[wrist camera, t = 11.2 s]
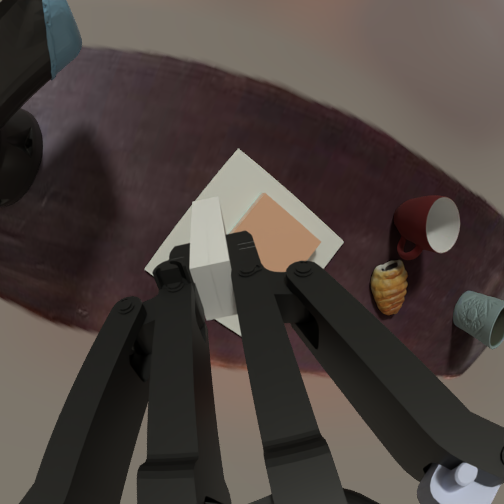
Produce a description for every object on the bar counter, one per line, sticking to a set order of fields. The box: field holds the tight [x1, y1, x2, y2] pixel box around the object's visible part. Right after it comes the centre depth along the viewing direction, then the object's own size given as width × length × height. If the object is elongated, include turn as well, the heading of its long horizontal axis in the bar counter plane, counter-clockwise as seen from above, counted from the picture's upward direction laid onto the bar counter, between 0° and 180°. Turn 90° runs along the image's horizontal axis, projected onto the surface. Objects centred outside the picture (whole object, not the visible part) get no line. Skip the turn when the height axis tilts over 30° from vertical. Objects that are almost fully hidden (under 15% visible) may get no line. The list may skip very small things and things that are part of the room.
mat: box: [145, 149, 344, 336], centre depth 40 cm, size 20×20×1 cm
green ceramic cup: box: [453, 291, 504, 349], centre depth 46 cm, size 10×10×12 cm
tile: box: [228, 193, 321, 272], centre depth 39 cm, size 10×2×11 cm
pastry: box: [371, 260, 408, 315], centre depth 44 cm, size 9×7×4 cm
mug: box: [394, 195, 460, 260], centre depth 39 cm, size 10×8×10 cm
